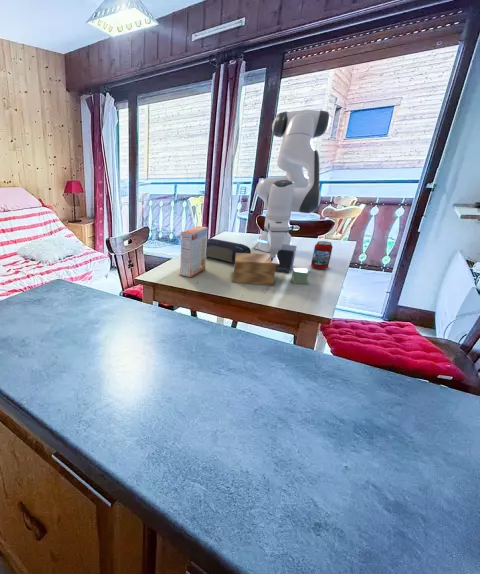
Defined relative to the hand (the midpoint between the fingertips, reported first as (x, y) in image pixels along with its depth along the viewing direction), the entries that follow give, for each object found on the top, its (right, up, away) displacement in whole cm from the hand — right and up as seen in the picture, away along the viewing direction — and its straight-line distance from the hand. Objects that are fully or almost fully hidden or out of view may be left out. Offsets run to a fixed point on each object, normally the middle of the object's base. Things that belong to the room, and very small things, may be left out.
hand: (271, 255), depth 138 cm
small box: (+14, -5, +16) cm, 22 cm away
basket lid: (-5, -2, +3) cm, 6 cm away
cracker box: (-28, -7, +18) cm, 34 cm away
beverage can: (+30, -5, +14) cm, 34 cm away
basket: (-5, -10, +7) cm, 13 cm away
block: (+12, -11, +1) cm, 16 cm away
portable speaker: (-8, +1, +33) cm, 34 cm away
